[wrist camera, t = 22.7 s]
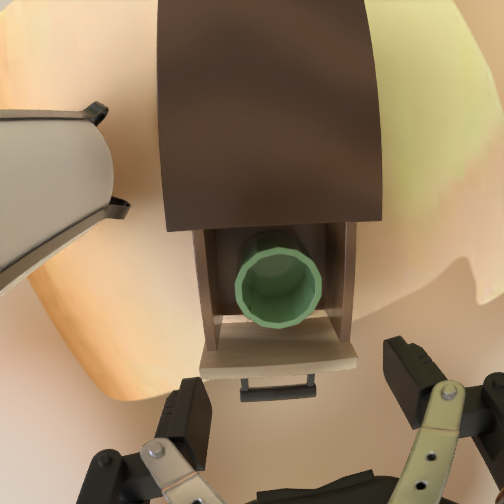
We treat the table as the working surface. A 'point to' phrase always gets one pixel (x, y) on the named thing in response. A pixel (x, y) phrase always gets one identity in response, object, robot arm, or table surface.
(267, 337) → the drawer
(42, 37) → the table surface
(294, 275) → the pot
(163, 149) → the cabinet
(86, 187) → the coffee press
